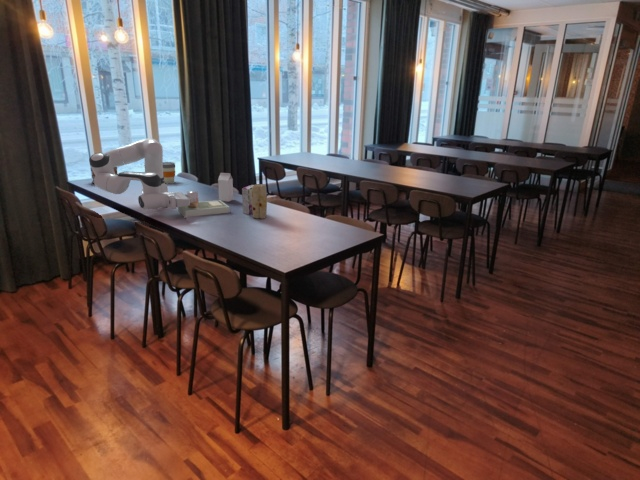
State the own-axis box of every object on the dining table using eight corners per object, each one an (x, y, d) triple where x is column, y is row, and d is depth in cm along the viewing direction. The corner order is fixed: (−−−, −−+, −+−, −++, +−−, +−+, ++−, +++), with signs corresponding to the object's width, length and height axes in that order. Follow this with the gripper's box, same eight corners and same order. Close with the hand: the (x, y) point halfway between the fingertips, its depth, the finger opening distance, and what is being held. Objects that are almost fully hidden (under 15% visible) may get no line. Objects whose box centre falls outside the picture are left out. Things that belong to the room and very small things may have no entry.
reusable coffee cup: (161, 180, 339) (160, 162, 334) (178, 181, 340) (176, 162, 336) (157, 183, 327) (156, 164, 322) (174, 184, 329) (173, 164, 324)
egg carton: (208, 208, 260) (207, 201, 259) (217, 207, 263) (217, 201, 262) (212, 212, 252) (212, 205, 251) (222, 211, 255) (222, 204, 254)
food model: (262, 215, 253) (262, 182, 247) (269, 218, 249) (269, 184, 242) (249, 218, 247) (248, 184, 240) (256, 220, 242) (255, 186, 236)
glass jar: (187, 211, 252) (185, 191, 249) (197, 210, 255) (196, 190, 252) (189, 213, 248) (188, 193, 244) (200, 212, 250) (199, 192, 247)
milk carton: (229, 203, 279) (228, 174, 273) (218, 202, 280) (217, 173, 274) (233, 200, 285) (232, 172, 279) (223, 199, 287) (222, 171, 281)
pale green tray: (178, 211, 256) (177, 203, 254) (220, 207, 268) (220, 200, 267) (185, 218, 241) (185, 211, 240) (229, 214, 254) (229, 206, 252)
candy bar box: (251, 210, 263) (250, 184, 258) (258, 211, 261) (258, 185, 256) (242, 214, 253) (241, 187, 248) (249, 216, 251) (249, 188, 246)
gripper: (166, 201, 252) (189, 199, 258) (173, 209, 235) (198, 207, 242) (165, 190, 250) (189, 189, 256) (173, 198, 233) (198, 196, 240)
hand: (194, 197), depth 249 cm, fingers open, 8 cm apart
